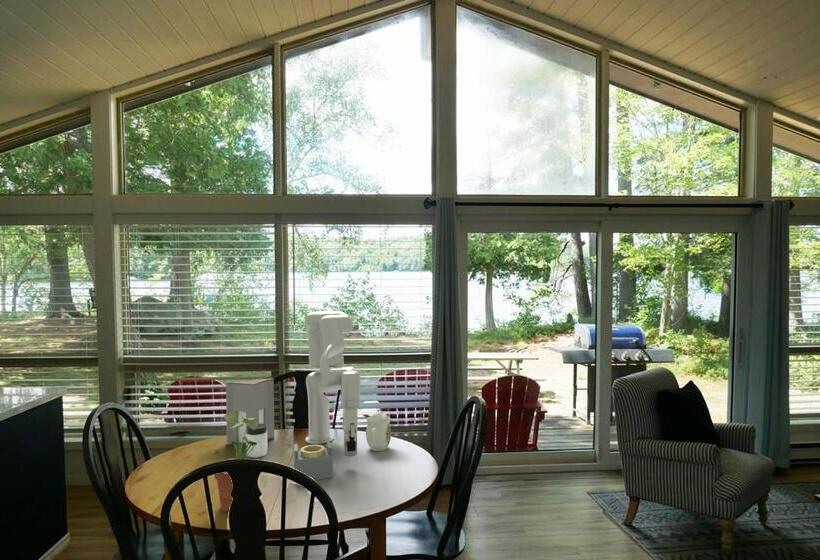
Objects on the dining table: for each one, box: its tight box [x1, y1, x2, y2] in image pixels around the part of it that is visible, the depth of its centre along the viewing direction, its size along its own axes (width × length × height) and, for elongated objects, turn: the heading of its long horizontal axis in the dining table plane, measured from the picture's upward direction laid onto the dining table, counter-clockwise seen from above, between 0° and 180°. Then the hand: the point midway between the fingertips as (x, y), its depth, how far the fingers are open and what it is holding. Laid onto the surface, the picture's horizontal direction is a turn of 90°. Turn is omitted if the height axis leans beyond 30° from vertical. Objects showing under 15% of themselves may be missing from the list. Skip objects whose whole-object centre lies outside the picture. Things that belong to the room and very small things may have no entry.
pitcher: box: [365, 412, 392, 452], centre depth 224 cm, size 11×18×14 cm, turn 169°
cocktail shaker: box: [343, 431, 358, 458], centre depth 202 cm, size 5×5×13 cm
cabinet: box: [225, 378, 275, 447], centre depth 234 cm, size 21×10×28 cm, turn 114°
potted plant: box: [214, 412, 261, 512], centre depth 171 cm, size 16×15×35 cm
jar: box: [245, 424, 268, 459], centre depth 220 cm, size 9×8×12 cm
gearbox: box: [293, 441, 334, 481], centre depth 196 cm, size 10×14×11 cm
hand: (350, 447), depth 202 cm, fingers closed on cocktail shaker, 5 cm apart
